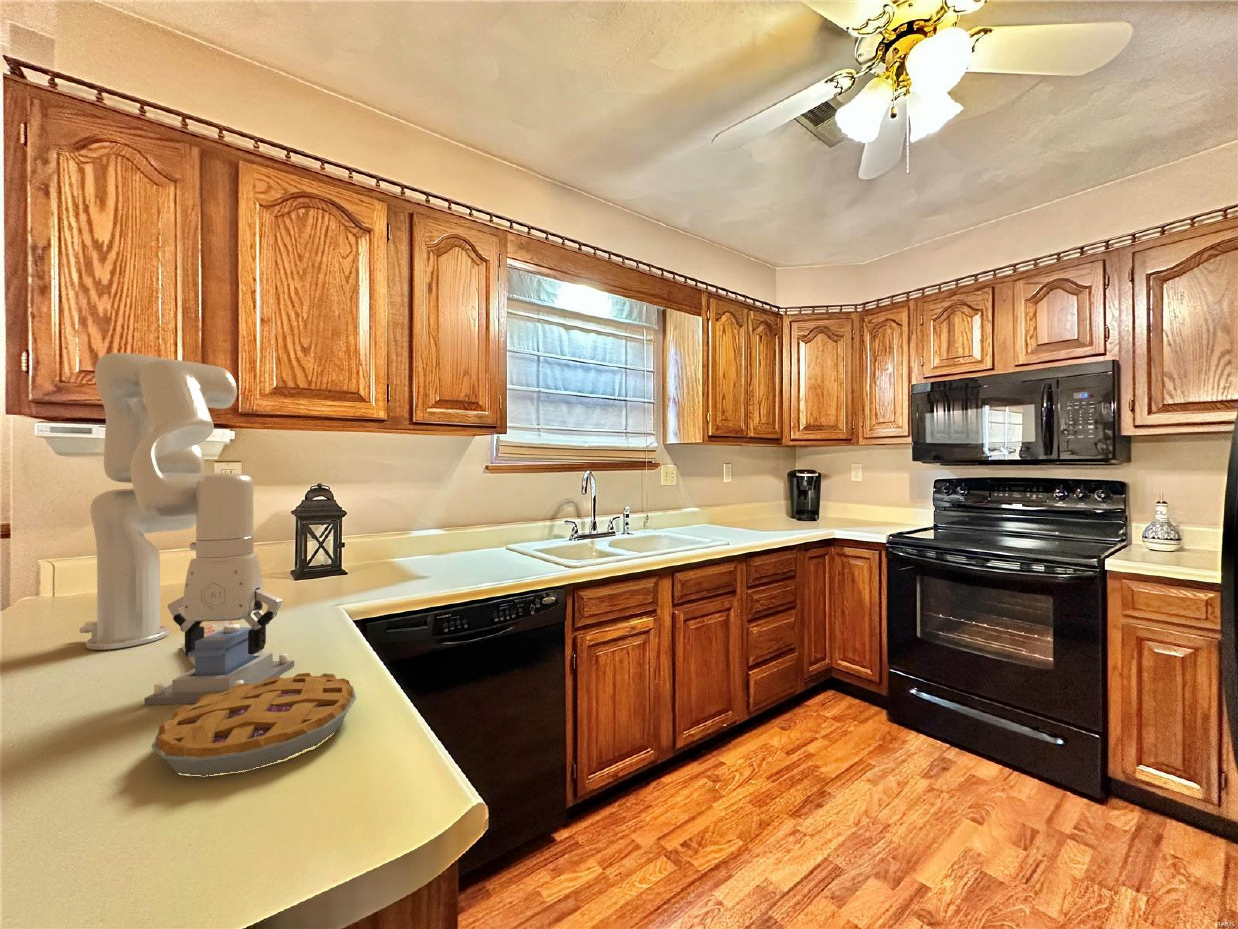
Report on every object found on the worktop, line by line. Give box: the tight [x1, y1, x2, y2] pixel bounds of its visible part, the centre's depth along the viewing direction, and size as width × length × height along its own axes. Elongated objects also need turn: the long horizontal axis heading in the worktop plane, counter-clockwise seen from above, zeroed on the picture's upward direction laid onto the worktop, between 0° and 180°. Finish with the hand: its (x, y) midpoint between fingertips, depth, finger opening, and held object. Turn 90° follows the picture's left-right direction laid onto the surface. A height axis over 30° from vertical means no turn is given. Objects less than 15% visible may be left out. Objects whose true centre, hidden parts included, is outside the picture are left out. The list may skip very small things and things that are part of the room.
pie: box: [150, 672, 357, 776], centre depth 68 cm, size 22×22×5 cm
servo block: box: [187, 623, 254, 676], centre depth 84 cm, size 4×10×8 cm, turn 4°
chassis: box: [143, 652, 295, 706], centre depth 84 cm, size 14×14×3 cm
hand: (225, 652), depth 84 cm, fingers open, 9 cm apart
